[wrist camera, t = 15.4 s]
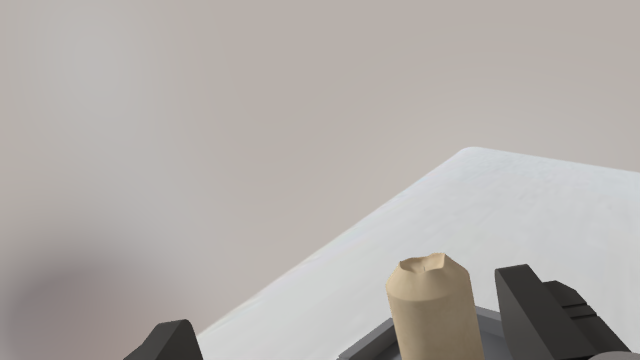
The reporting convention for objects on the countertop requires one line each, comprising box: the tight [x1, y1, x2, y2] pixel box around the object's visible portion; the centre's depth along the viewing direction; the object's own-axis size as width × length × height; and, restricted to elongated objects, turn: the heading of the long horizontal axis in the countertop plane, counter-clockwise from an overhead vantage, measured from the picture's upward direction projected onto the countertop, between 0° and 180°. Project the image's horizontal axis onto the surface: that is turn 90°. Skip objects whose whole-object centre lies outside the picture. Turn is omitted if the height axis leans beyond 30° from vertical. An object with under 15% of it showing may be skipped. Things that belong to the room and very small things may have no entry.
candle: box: [386, 253, 485, 360], centre depth 31 cm, size 6×6×10 cm
